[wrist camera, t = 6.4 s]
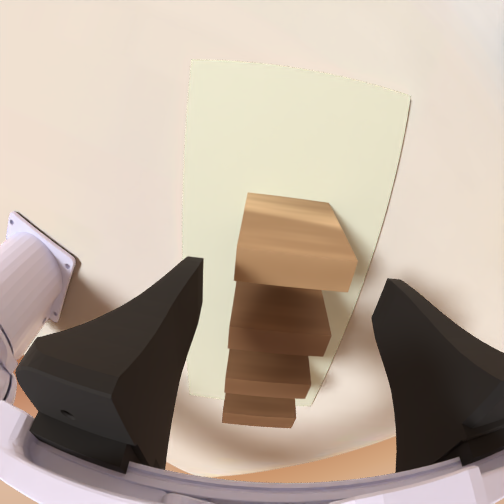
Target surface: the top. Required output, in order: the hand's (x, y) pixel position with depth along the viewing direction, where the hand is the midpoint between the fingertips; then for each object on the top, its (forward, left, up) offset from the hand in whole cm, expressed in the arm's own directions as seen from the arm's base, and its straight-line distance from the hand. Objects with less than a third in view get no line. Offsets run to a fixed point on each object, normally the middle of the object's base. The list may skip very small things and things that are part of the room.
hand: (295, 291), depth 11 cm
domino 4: (-11, -6, -8) cm, 15 cm away
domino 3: (-7, -4, -8) cm, 12 cm away
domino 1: (0, 0, -8) cm, 8 cm away
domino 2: (-4, -2, -8) cm, 9 cm away
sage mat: (-5, -3, -9) cm, 11 cm away
